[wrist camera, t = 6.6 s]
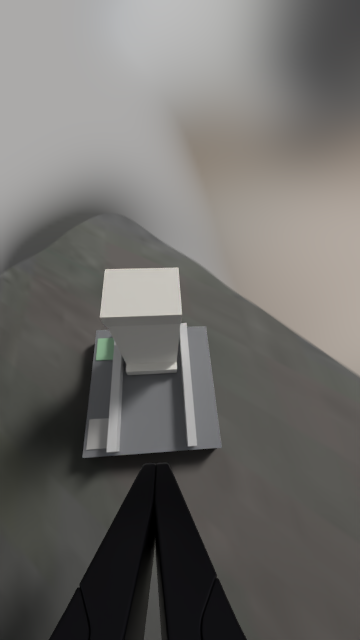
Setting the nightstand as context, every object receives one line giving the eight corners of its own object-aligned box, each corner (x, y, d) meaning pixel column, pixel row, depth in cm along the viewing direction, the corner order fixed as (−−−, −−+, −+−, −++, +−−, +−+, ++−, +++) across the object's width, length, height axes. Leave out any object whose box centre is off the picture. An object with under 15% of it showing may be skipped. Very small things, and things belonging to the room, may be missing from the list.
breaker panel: (217, 447, 15) (225, 447, 13) (89, 457, 15) (76, 458, 12) (203, 334, 19) (207, 319, 17) (101, 338, 18) (92, 323, 16)
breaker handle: (176, 372, 16) (182, 321, 9) (127, 375, 15) (99, 324, 9) (174, 331, 17) (178, 262, 11) (129, 333, 17) (105, 264, 10)
